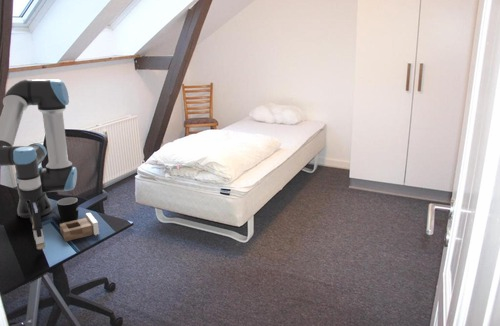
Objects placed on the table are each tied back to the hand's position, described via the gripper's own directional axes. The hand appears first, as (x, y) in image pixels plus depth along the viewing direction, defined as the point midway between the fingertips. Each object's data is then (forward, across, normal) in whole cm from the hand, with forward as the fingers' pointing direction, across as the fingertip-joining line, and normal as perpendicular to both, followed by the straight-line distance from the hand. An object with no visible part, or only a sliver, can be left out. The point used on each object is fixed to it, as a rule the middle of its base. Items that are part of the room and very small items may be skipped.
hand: (39, 240), depth 158 cm
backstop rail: (+6, -8, +23) cm, 25 cm away
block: (+6, -8, +16) cm, 19 cm away
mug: (+6, -25, +17) cm, 31 cm away
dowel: (+3, 0, 0) cm, 3 cm away
